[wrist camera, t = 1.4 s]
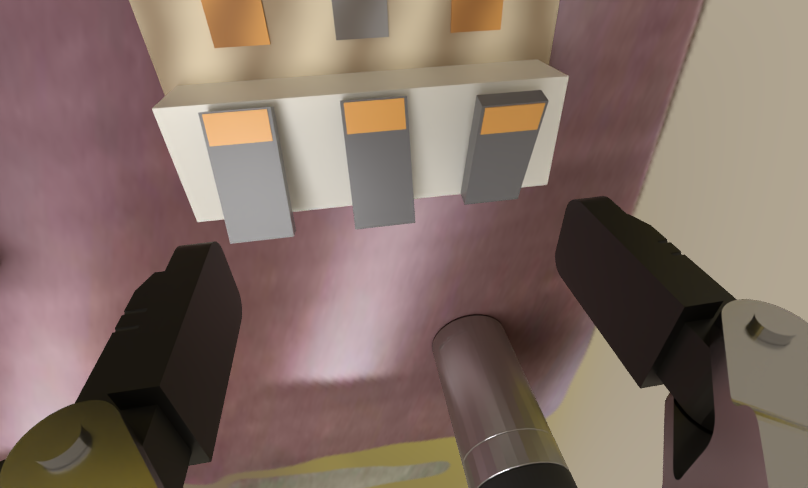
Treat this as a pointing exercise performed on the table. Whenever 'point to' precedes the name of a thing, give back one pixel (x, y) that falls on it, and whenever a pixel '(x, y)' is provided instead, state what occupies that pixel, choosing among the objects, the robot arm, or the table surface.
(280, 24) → the chart board
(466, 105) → the switch box
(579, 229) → the robot arm
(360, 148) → the switch middle
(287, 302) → the table surface
